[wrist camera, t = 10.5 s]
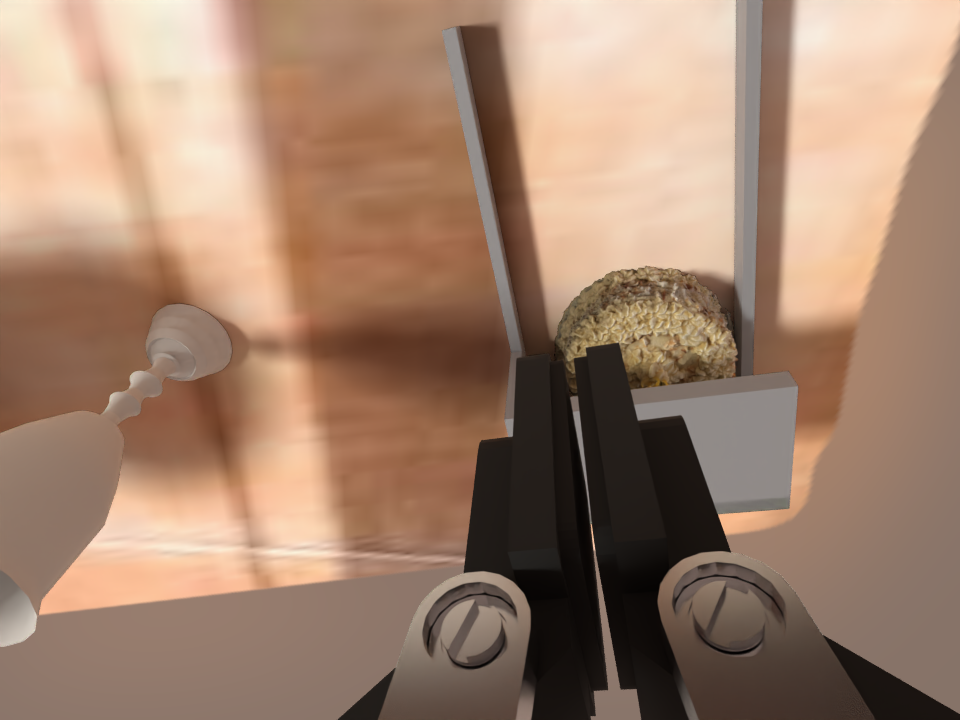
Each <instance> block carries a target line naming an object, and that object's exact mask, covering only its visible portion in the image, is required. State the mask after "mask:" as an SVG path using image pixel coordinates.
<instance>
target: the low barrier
mask: <svg viewBox="0 0 960 720" xmlns="http://www.w3.org/2000/svg"><path fill="white" fill-rule="evenodd" d="M762 9H763V0H736V112H735V260H734V341H735V344H736V347H735V348H736V349H737V352H738V354H737V355H736V356H735V357H736V358H737V359H738V360H737V361H735V366H736V368H735V371H736V372H735V374H736V377H734V378H726V379H717V380H709V381H700V382H692V383H683V384H675V385H666V386H658V387H649V388H641V389H633V390H631V394H632V398H633V402H634V406H635V410H636V414H637V418H638V421H639V420H647V419H654V418H662V417H670V416H678V415H681V416H682V417H683V418H684V421H685V423H686V426H687V429H688V431H689V434H690V437H691V440H692V443H693V446H694V448H695V451H696V454H697V457H698V460H699V463H700V465H701V468H702V471H703V474H704V477H705V480H706V482H707V485H708V488H709V491H710V494H711V497H712V500H713V502H714V505H715V508H716V511H717V514H727V513H740V512H753V511H765V510H778V509H789V506H790V493H791V479H792V465H793V452H794V438H795V425H796V411H797V397H798V385H797V383H796V382H795V380H794V379H793V377H792V376H791V374H790V373H789V371H785V372H776V373H768V374H759V375H753V352H754V314H755V276H756V238H757V200H758V162H759V124H760V85H761V47H762ZM442 34H443V38H444V43H445V48H446V52H447V57H448V62H449V66H450V71H451V76H452V80H453V85H454V89H455V94H456V99H457V103H458V108H459V113H460V117H461V122H462V127H463V131H464V136H465V141H466V145H467V150H468V154H469V159H470V164H471V168H472V173H473V178H474V182H475V187H476V192H477V196H478V201H479V206H480V210H481V215H482V220H483V224H484V229H485V233H486V238H487V243H488V247H489V252H490V257H491V261H492V266H493V271H494V275H495V280H496V285H497V289H498V294H499V299H500V303H501V308H502V312H503V317H504V322H505V326H506V331H507V336H508V340H509V345H510V350H511V357H510V368H509V378H508V388H507V398H506V409H505V419H504V420H505V424H506V428H507V432H508V436H509V437H512V436H513V421H514V398H515V376H516V359H517V358H519V357H526V352H525V347H524V342H523V337H522V332H521V327H520V322H519V318H518V313H517V308H516V303H515V298H514V293H513V288H512V283H511V278H510V273H509V268H508V263H507V258H506V253H505V248H504V243H503V238H502V233H501V228H500V223H499V218H498V213H497V208H496V203H495V198H494V193H493V188H492V183H491V178H490V173H489V168H488V163H487V158H486V153H485V148H484V143H483V138H482V133H481V128H480V123H479V118H478V113H477V108H476V103H475V98H474V93H473V88H472V84H471V79H470V74H469V69H468V64H467V59H466V54H465V49H464V44H463V39H462V34H461V29H460V26H457V27H453V28H449V29H446V30H442ZM570 399H571V404H572V410H573V415H574V421H575V427H576V432H577V438H578V443H579V449H580V454H581V460H582V466H583V471H584V477H585V483H586V490H587V497H588V506H589V515H590V524H592V520H591V511H590V502H589V493H588V484H587V475H586V466H585V457H584V448H583V439H582V430H581V421H580V412H579V403H578V396H573V397H570Z"/></svg>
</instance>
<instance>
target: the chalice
mask: <svg viewBox="0 0 960 720" xmlns="http://www.w3.org/2000/svg"><path fill="white" fill-rule="evenodd" d="M145 348H146V353H147V357H148V359H149V361H150V363H151V365H152V367H151V368H150V369H148V370H146V371H135V372H133V373H132V374H131V375H130V383H131V385H130V387H129V389H127V390H125V391H123V392H115V393H112V394H111V395H110V399H109V404H108V406H107V407H106V409H105V411H104V412H103V413H101V414H97V413H94V412H90V411H75V412H70V413H66V414H62V415H58V416H54V417H50V418H46V419H41V420H37V421H33V422H29V423H25V424H23V425H20V426H17V427H15V428H12V429H9V430H7V431H4V432H1V433H0V646H2V647H3V646H8V645H12V644H15V643H19V642H23V641H24V640H25V639H26V638H27V637H29V636H30V635H31V634H32V633H33V632H35V628H36V623H37V619H38V615H39V610H40V605H41V601H42V599H43V598H44V597H45V595H46V594H47V593H48V592H49V591H50V589H51V588H52V587H53V586H54V585H55V583H56V582H57V581H58V580H59V579H60V578H61V576H62V575H63V574H64V573H65V572H66V570H67V569H68V568H69V567H70V566H71V564H72V563H73V562H74V561H75V560H76V558H77V557H78V556H79V555H80V554H81V553H82V551H83V550H84V549H85V548H86V547H87V545H88V544H89V543H90V542H91V541H92V539H93V538H94V537H95V536H96V535H97V533H98V532H99V531H100V530H101V529H102V528H103V526H104V525H105V522H106V519H107V516H108V513H109V510H110V507H111V504H112V501H113V499H114V496H115V493H116V490H117V485H118V481H119V475H120V469H121V463H122V456H123V450H124V444H125V440H124V436H123V434H122V432H121V431H120V429H119V428H118V427H117V426H118V424H119V423H120V422H122V421H123V420H125V419H127V418H128V417H131V416H136V415H138V414H139V413H140V412H141V404H142V401H143V399H145V398H147V397H157V396H159V395H160V394H161V393H162V390H163V387H162V382H163V380H164V379H165V378H166V377H167V378H169V379H172V380H177V381H193V380H196V379H198V378H201V377H205V376H207V375H209V374H214V373H217V372H219V371H221V370H223V369H224V368H225V367H226V366H227V364H228V363H229V362H230V358H231V355H232V346H231V341H230V338H229V336H228V334H227V332H226V330H225V329H224V328H223V326H222V325H221V324H220V323H219V322H218V320H216V319H215V318H214V317H212V316H211V315H210V314H209V313H207V312H206V311H203V310H201V309H199V308H197V307H195V306H191V305H185V304H172V305H167V306H165V307H163V308H161V309H159V310H158V311H157V313H156V314H155V315H154V317H153V318H152V323H151V327H150V329H149V333H148V337H147V338H146V343H145Z"/></svg>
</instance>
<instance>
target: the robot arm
mask: <svg viewBox="0 0 960 720" xmlns="http://www.w3.org/2000/svg"><path fill="white" fill-rule="evenodd" d="M585 348H586V355H587V356H584V357H577V358H574V367H575V376H576V385H577V394H578V403H579V412H580V421H581V430H582V439H583V448H584V457H585V466H586V475H587V484H588V493H589V502H590V511H591V520H592V529H593V536H594V543H595V550H596V556H597V562H598V568H599V573H600V579H601V584H602V590H603V594H604V601H605V606H606V612H607V617H608V622H609V628H610V633H611V638H612V644H613V650H614V655H615V661H616V666H617V672H618V677H619V683H620V688H621V689H637V695H638V701H639V707H640V713H641V720H960V714H958V713H957V712H955V711H953V710H952V709H950V708H948V707H947V706H944V705H943V704H941V703H939V702H938V701H936V700H934V699H933V698H931V697H929V696H927V695H926V694H924V693H922V692H921V691H919V690H917V689H915V688H914V687H912V686H910V685H909V684H907V683H905V682H903V681H902V680H900V679H898V678H896V677H895V676H893V675H891V674H890V673H888V672H886V671H884V670H882V669H881V668H879V667H877V666H876V665H874V664H872V663H870V662H869V661H867V660H865V659H863V658H862V657H860V656H858V655H857V654H855V653H853V652H851V651H850V650H848V649H846V648H844V647H843V646H841V645H839V644H838V643H836V642H834V641H832V640H831V639H829V638H827V637H826V636H824V635H822V633H821V632H820V630H819V629H818V627H817V625H816V624H815V622H814V621H813V619H812V617H811V616H810V614H809V613H808V611H807V610H806V608H805V606H804V605H803V603H802V602H801V600H800V598H799V597H798V595H797V594H796V592H795V591H794V590H793V589H792V588H791V586H790V585H789V584H788V583H787V582H786V581H785V580H784V578H783V577H782V576H781V575H780V574H778V573H777V572H776V571H774V570H773V569H771V568H770V567H768V566H767V565H766V564H764V563H762V562H760V561H757V560H755V559H752V558H750V557H747V556H745V555H742V554H736V553H731V551H730V548H729V545H728V542H727V539H726V536H725V534H724V531H723V528H722V525H721V522H720V519H719V517H718V514H717V511H716V508H715V505H714V502H713V500H712V497H711V494H710V491H709V488H708V485H707V482H706V480H705V477H704V474H703V471H702V468H701V465H700V463H699V460H698V457H697V454H696V451H695V448H694V446H693V443H692V440H691V437H690V434H689V431H688V429H687V426H686V423H685V421H684V418H683V417H682V416H681V415H678V416H670V417H662V418H654V419H647V420H639V421H638V418H637V414H636V410H635V406H634V402H633V398H632V394H631V390H630V386H629V382H628V377H627V373H626V369H625V365H624V361H623V357H622V353H621V349H620V345H619V343H612V344H605V345H598V346H592V347H585ZM597 690H598V691H599V690H608V683H607V674H606V663H605V654H604V645H603V636H602V627H601V618H600V608H599V599H598V590H597V580H596V571H595V562H594V552H593V543H592V534H591V525H590V515H589V506H588V497H587V490H586V483H585V477H584V471H583V466H582V460H581V454H580V449H579V443H578V438H577V432H576V427H575V421H574V415H573V410H572V404H571V399H570V393H569V388H568V382H567V376H566V371H565V365H564V361H563V360H557V361H551V357H550V354H549V353H546V354H539V355H532V356H526V357H519V358H517V359H516V376H515V398H514V421H513V436H512V437H505V438H497V439H489V440H482V441H481V442H480V444H479V449H478V456H477V465H476V473H475V482H474V490H473V498H472V507H471V515H470V524H469V532H468V541H467V549H466V558H465V566H464V574H461V575H458V576H456V577H453V578H450V579H448V580H447V581H445V582H444V583H442V584H441V585H439V586H438V587H436V588H435V589H433V590H432V591H431V593H430V594H429V595H428V596H427V597H426V598H425V599H424V600H423V601H422V603H421V604H420V606H419V608H418V610H417V612H416V614H415V616H414V618H413V620H412V622H411V625H410V629H409V631H408V634H407V637H406V640H405V643H404V646H403V649H402V652H401V655H400V657H399V660H398V663H397V666H396V668H394V669H393V670H392V671H391V672H390V673H389V674H388V675H387V676H386V677H384V678H383V679H382V680H381V681H380V682H379V683H378V684H377V685H376V686H374V687H373V688H372V689H371V690H370V691H369V692H368V693H367V694H366V695H364V696H363V697H362V698H361V699H360V700H359V701H358V702H357V703H356V704H354V705H353V706H352V707H351V708H350V709H349V710H348V711H347V712H346V713H345V714H344V715H342V716H341V717H340V718H339V719H338V720H591V718H590V716H596V714H595V703H594V691H597Z"/></svg>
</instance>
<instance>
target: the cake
mask: <svg viewBox="0 0 960 720" xmlns="http://www.w3.org/2000/svg"><path fill="white" fill-rule="evenodd" d="M712 295H713V294H712V291H711V290H708V289H707V287H706V286H705V287H704V286H702V285H700V284H699V283H698V280H696V276H691V275H690V274H687V275H685V276H683V275H682V274H681V271H678V270H674V269H672V268H669V269H665V270H658V269H657V268H656V267H649V266H646V267H645V268H638V270H637V271H635V270H634V269H631V270H621V271H617V272H614V271H612V272H611V273H609V274H606V275H605V277H604V278H602V280H601V279H599V280H598V281H595V282H594V283H593V284H592V285H591V286H589V287H586V288H585V289H584V290H582V291H581V293H580V296H577V297H575V298H574V300H573V301H572V302H571V303H570V305H569V307H568V308H567V309H566V310H565V311H564V315H563V318H562V320H561V322H560V323H559V325H558V331H557V332H558V333H557V334H558V335H557V336H556V339H555V346H556V348H555V352H556V354H554V356H555V358H556V360H555V361H557V360H563V361H564V365H565V371H566V376H567V382H568V388H569V391H570V393H572V395H573V396H578V394H577V385H576V376H575V367H574V358H577V357H584V356H587V355H586V348H585V347H592V346H598V345H605V344H612V343H619V345H620V349H621V353H622V357H623V361H624V365H625V369H626V373H627V377H628V382H629V386H630V390H633V389H641V388H649V387H658V386H666V385H675V384H683V383H692V382H700V381H709V380H717V379H726V378H732V376H734V377H736V374H735V372H736V371H735V368H736V366H735V361H737V360H738V359H737V358H736V357H735V356H736V355H737V354H738V352H737V349H736V348H735V347H736V344H735V341H734V337H733V330H734V326H733V321H731V319H730V317H731V316H730V314H729V312H728V310H727V312H728V313H727V314H726V315H725V314H724V313H720V309H721V305H720V304H719V303H718V302H719V300H718V299H717V296H716V294H714V297H712ZM725 309H726V308H725Z"/></svg>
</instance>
